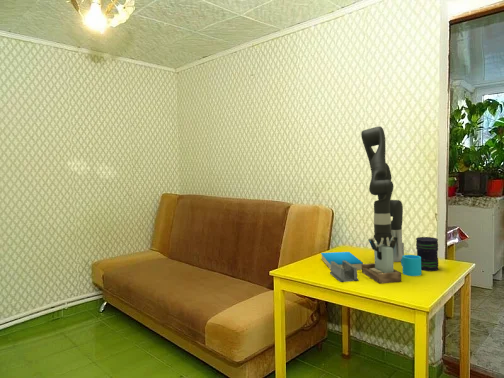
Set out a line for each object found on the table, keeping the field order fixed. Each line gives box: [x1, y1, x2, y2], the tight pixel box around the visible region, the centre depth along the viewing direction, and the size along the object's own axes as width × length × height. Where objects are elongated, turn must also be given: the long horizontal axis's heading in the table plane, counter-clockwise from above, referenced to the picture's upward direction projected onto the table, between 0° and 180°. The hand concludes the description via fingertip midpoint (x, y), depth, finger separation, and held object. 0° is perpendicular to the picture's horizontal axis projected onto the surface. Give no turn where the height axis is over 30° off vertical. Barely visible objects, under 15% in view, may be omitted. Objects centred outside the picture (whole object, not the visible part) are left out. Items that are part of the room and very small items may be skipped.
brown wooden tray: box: [361, 262, 402, 284], centre depth 166 cm, size 10×18×4 cm, turn 7°
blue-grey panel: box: [373, 242, 395, 273], centre depth 166 cm, size 3×12×12 cm, turn 7°
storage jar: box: [415, 236, 439, 272], centre depth 176 cm, size 10×10×15 cm
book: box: [320, 251, 364, 271], centre depth 192 cm, size 17×4×25 cm
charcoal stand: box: [329, 260, 359, 283], centre depth 168 cm, size 8×14×6 cm, turn 7°
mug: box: [400, 254, 422, 277], centre depth 171 cm, size 12×8×8 cm
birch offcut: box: [369, 268, 382, 274], centre depth 166 cm, size 2×7×2 cm, turn 12°
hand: (383, 258), depth 166 cm, fingers closed on blue-grey panel, 3 cm apart
